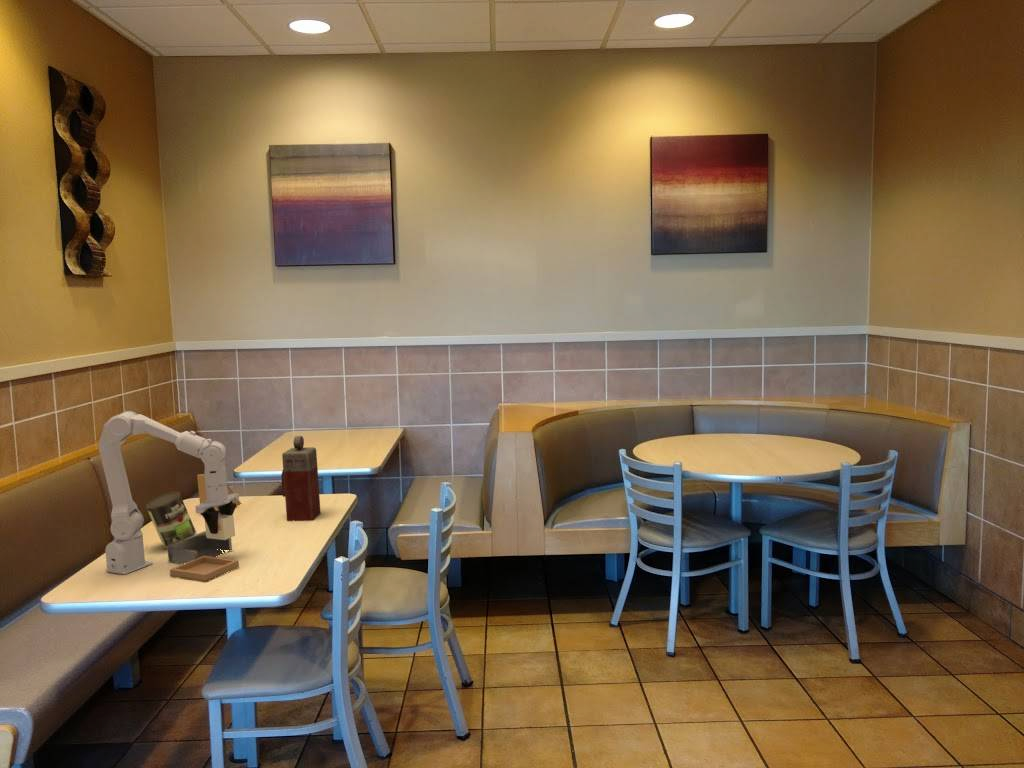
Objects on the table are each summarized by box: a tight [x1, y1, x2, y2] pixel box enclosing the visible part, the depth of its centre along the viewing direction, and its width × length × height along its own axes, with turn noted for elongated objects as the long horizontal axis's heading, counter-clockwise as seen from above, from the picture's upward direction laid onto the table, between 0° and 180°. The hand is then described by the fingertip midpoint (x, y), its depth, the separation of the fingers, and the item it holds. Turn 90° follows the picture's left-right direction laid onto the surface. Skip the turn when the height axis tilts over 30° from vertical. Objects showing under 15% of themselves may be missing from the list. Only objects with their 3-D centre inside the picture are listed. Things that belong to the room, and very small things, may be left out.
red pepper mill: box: [280, 435, 322, 522], centre depth 270 cm, size 9×11×28 cm
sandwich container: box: [196, 473, 242, 514], centre depth 285 cm, size 9×15×15 cm, turn 174°
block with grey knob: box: [204, 514, 236, 540], centre depth 228 cm, size 4×7×7 cm, turn 65°
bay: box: [166, 530, 233, 564], centre depth 233 cm, size 14×10×5 cm
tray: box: [169, 556, 240, 583], centre depth 219 cm, size 12×13×2 cm
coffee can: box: [145, 491, 198, 549], centre depth 243 cm, size 10×10×14 cm
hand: (220, 531), depth 229 cm, fingers closed on block with grey knob, 4 cm apart
